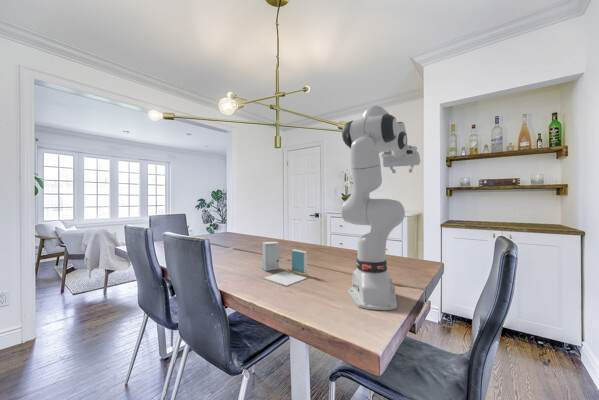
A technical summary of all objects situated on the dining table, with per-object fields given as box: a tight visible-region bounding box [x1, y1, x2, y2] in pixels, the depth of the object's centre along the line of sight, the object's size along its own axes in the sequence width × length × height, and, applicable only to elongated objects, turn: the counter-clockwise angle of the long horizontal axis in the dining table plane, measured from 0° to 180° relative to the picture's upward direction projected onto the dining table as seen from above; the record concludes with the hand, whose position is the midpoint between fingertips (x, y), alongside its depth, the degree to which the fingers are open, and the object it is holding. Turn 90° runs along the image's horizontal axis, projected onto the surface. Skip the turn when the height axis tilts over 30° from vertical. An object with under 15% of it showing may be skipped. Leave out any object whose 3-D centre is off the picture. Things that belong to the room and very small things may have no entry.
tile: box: [291, 248, 308, 274], centre depth 130 cm, size 2×9×12 cm, turn 47°
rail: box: [285, 268, 309, 278], centre depth 128 cm, size 2×14×2 cm, turn 47°
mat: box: [263, 270, 308, 287], centre depth 122 cm, size 14×16×1 cm
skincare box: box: [261, 241, 280, 272], centre depth 139 cm, size 8×6×15 cm
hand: (402, 172), depth 148 cm, fingers open, 8 cm apart
